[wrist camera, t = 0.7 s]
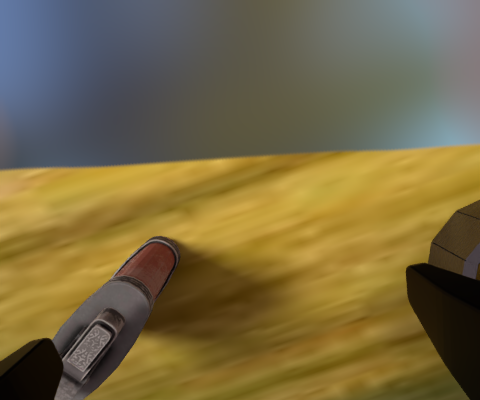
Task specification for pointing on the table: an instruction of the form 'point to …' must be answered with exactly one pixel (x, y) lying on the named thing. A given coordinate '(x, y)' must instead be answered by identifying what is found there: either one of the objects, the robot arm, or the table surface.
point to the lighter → (112, 319)
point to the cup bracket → (459, 242)
